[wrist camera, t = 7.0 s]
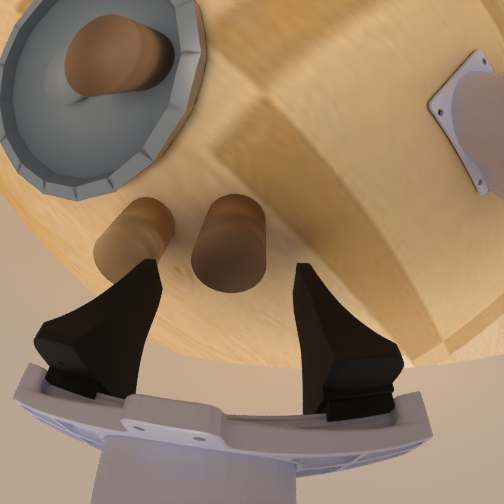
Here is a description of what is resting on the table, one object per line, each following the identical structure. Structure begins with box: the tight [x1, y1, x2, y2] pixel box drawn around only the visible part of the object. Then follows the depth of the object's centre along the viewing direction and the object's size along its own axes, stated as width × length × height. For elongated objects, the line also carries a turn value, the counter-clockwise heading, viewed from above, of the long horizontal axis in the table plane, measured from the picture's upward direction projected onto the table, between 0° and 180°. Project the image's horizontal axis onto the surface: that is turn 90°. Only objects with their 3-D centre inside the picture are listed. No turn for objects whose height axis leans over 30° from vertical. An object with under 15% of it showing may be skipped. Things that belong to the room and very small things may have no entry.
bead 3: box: [191, 194, 266, 293], centre depth 17 cm, size 4×4×5 cm
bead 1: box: [64, 14, 175, 97], centre depth 10 cm, size 4×4×5 cm
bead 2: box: [93, 197, 175, 284], centre depth 17 cm, size 4×4×5 cm
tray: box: [0, 0, 207, 201], centre depth 11 cm, size 17×17×2 cm
